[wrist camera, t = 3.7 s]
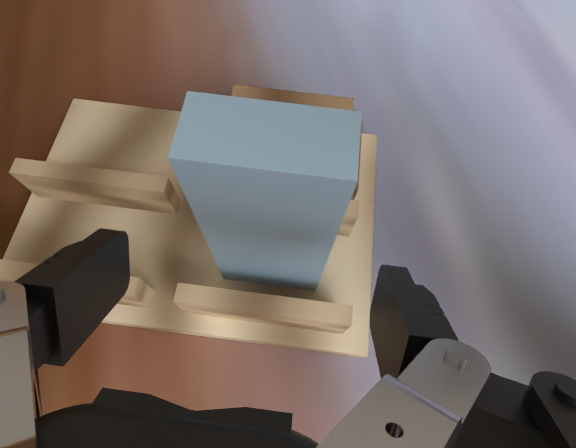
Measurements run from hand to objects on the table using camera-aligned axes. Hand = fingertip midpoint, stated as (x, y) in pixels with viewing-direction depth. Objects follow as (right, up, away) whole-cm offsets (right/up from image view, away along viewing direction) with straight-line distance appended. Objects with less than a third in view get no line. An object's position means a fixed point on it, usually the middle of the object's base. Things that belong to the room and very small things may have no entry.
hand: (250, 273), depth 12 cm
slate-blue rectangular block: (0, -1, +11) cm, 11 cm away
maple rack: (-4, +2, +14) cm, 15 cm away
